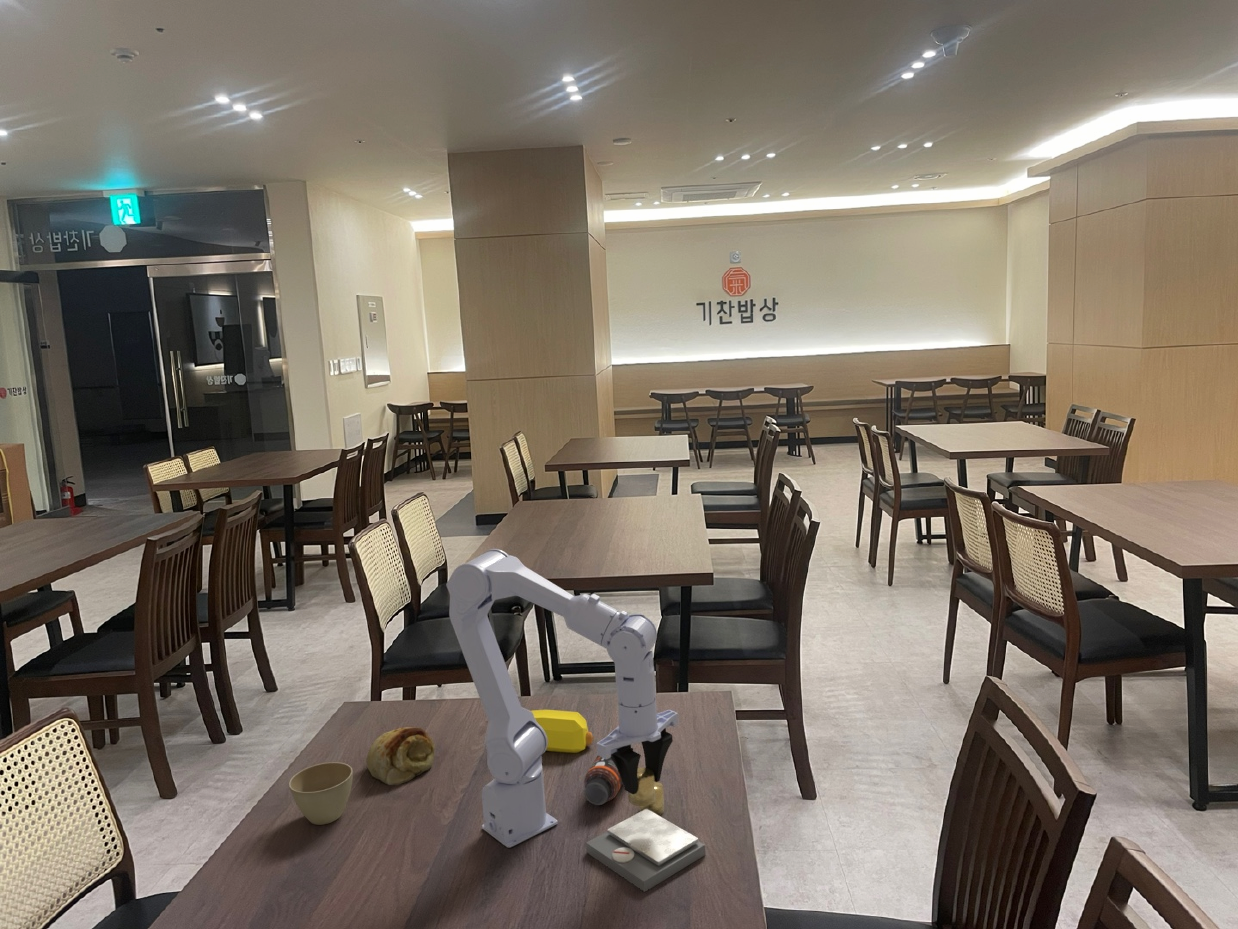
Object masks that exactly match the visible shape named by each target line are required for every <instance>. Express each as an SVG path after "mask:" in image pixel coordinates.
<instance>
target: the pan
mask: <svg viewBox="0 0 1238 929" xmlns="http://www.w3.org/2000/svg"><path fill="white" fill-rule="evenodd" d="M606 832H607V833H608V834H609V835H611V836H612V837H614V838H616V839H617V840H619V841H620V842H622V843H623V844H625V845H627V846H628V847H630V848H631V849H633V850H634V851H636V852H637V853H639V854H641V855H642V856H644V857H645V858H647V859H648V860H650V861H652V862H653V863H655V864H656V865H658V866H659V865H661V864H663V863H664V862H666V861H668V860H669V859H671V858H673V857H674V856H676V855H678V854H679V853H681V852H683V851H685V850H686V849H688V848H690V847H691V846H693V845H695V844H696V843H698V842H700V840H699V838H698V837H697V836H695V835H693V834H692V833H690V832H688V831H687V830H684V829H683V828H681V827H680V826H677V825H676V824H674V823H672V822H671V821H668V820H667V819H665V818H664V817H662V816H661V815H657V814H655V813H653V812H652V811H650V810H648V809H645V810H643V811H641V812H637V813H635V814H634V815H632V816H630V817H628V818H626V819H624V820H623V821H620V822H618V823H617V824H615V825H612V826H611V827H609V828H607V829H606Z"/></svg>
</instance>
